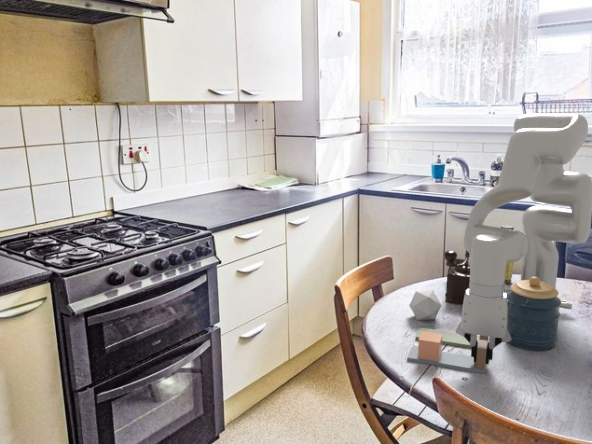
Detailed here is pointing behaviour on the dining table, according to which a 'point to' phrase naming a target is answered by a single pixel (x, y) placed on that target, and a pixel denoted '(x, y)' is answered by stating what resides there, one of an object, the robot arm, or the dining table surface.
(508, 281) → the sauce bottle
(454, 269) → the manual coffee grinder
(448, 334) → the empty strip
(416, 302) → the die
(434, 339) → the terracotta block
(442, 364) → the cargo strip
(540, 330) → the canister
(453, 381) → the dining table surface
